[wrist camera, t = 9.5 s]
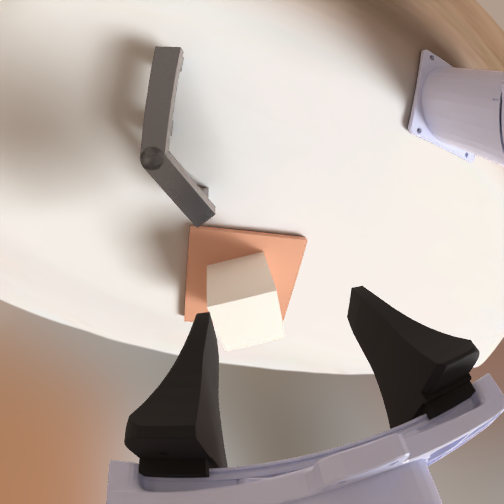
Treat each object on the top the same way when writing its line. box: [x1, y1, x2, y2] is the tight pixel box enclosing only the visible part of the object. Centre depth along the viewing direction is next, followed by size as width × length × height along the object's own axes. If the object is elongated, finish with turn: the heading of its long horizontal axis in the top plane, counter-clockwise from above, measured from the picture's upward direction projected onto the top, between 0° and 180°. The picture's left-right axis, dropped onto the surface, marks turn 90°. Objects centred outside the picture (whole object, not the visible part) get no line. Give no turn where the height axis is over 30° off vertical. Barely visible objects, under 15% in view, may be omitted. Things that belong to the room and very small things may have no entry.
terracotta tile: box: [184, 225, 307, 323], centre depth 24 cm, size 9×9×1 cm
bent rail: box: [140, 47, 215, 228], centre depth 16 cm, size 5×10×4 cm, turn 169°
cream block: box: [207, 252, 285, 352], centre depth 21 cm, size 4×4×5 cm
